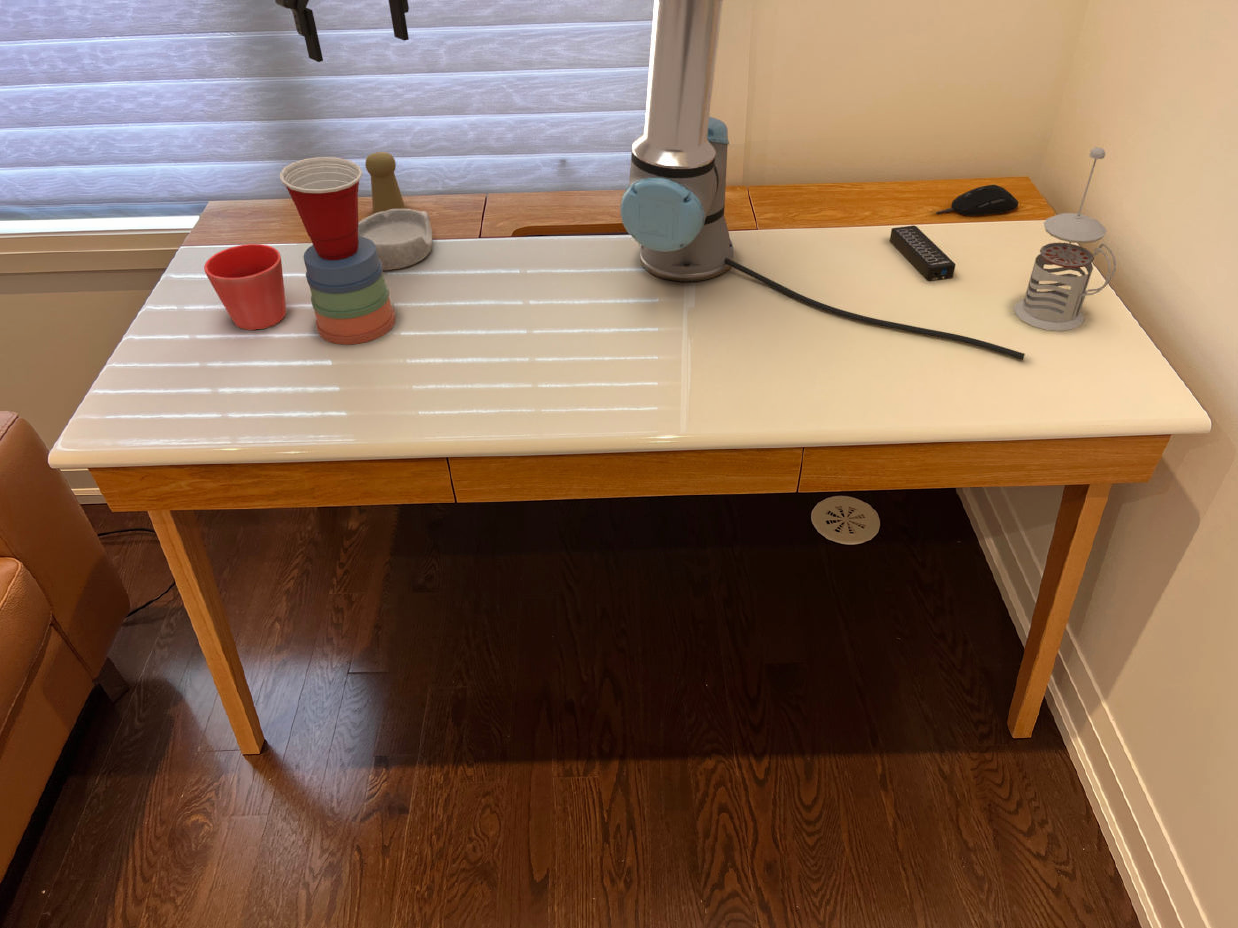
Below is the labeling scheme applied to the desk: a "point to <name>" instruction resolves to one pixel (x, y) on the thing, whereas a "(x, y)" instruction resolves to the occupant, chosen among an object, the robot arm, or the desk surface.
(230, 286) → the flower pot
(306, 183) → the plastic cup
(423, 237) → the dish
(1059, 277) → the french press
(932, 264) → the multiport hub
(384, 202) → the wooden peg doll
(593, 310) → the desk surface
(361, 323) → the cup stack
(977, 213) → the gaming mouse
